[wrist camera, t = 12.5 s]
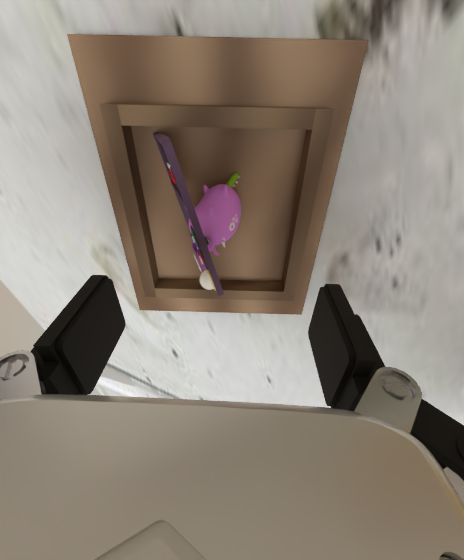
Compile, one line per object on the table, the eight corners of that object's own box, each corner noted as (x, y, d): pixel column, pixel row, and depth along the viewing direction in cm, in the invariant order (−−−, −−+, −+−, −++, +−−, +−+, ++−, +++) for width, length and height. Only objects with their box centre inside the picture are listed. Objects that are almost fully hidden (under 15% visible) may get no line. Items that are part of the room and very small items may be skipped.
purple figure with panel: (144, 145, 11) (208, 302, 16) (257, 109, 11) (283, 272, 17) (141, 137, 16) (189, 256, 21) (218, 112, 17) (247, 234, 22)
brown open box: (359, 43, 15) (381, 35, 12) (299, 306, 27) (304, 325, 24) (78, 37, 15) (50, 29, 13) (143, 301, 27) (135, 320, 24)
